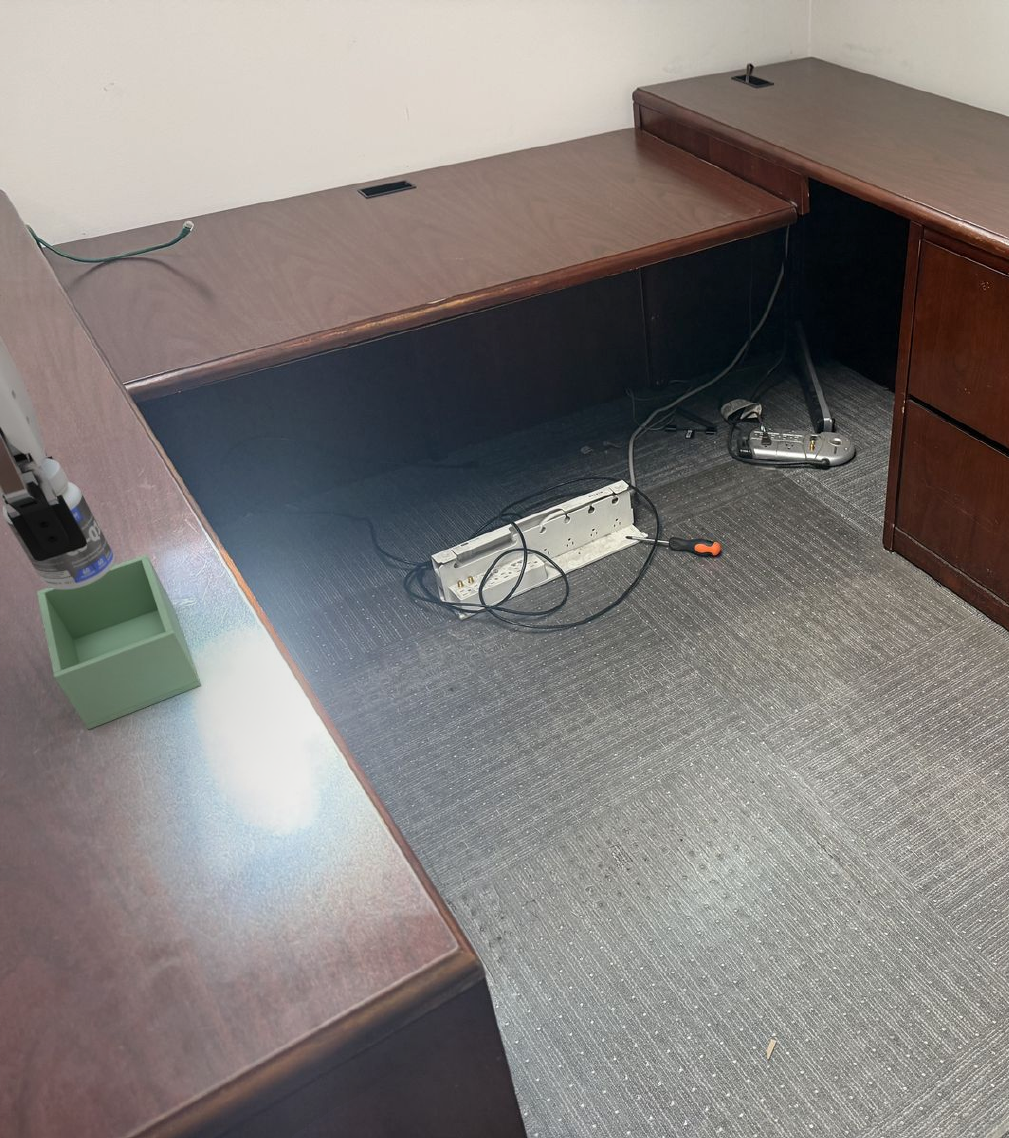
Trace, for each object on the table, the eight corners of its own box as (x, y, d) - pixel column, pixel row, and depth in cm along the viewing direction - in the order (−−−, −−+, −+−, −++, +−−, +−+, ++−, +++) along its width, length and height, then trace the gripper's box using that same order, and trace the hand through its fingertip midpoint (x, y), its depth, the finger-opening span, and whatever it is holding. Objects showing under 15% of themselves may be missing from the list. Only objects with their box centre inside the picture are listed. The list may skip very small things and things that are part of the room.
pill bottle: (96, 592, 72) (40, 494, 67) (29, 591, 72) (-31, 494, 67) (129, 549, 76) (79, 453, 71) (66, 549, 76) (11, 453, 71)
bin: (201, 685, 78) (173, 632, 75) (88, 730, 75) (54, 677, 72) (173, 605, 86) (146, 554, 82) (68, 643, 82) (36, 591, 79)
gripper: (-160, 252, 64) (-14, 491, 76) (-164, 361, 53) (7, 620, 65) (-22, 224, 67) (98, 458, 79) (1, 322, 56) (136, 576, 68)
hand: (56, 529), depth 72 cm, fingers closed on pill bottle, 4 cm apart
